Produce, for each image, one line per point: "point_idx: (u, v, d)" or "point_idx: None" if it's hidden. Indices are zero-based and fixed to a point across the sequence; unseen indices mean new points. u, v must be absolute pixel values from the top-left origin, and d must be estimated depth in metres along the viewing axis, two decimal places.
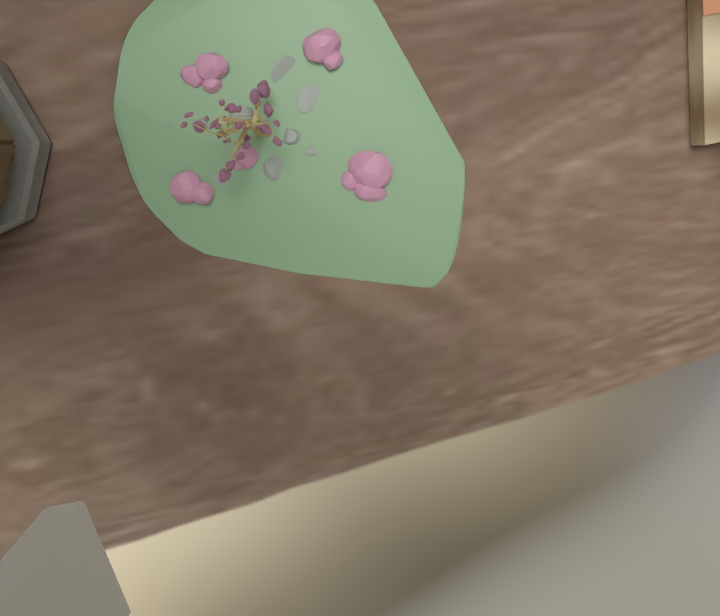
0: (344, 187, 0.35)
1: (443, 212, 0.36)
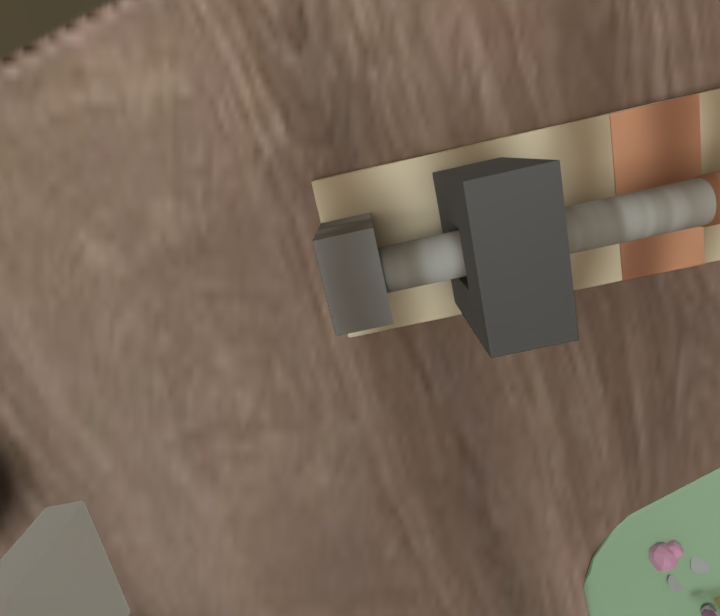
0: None
1: None
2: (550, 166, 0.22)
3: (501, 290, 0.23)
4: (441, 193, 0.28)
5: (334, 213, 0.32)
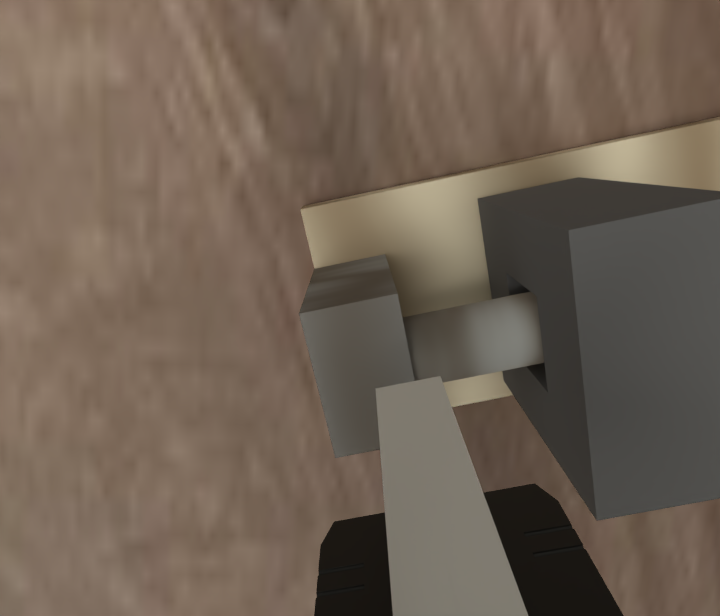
0: None
1: None
2: None
3: (622, 414, 0.13)
4: (496, 232, 0.19)
5: (333, 255, 0.22)
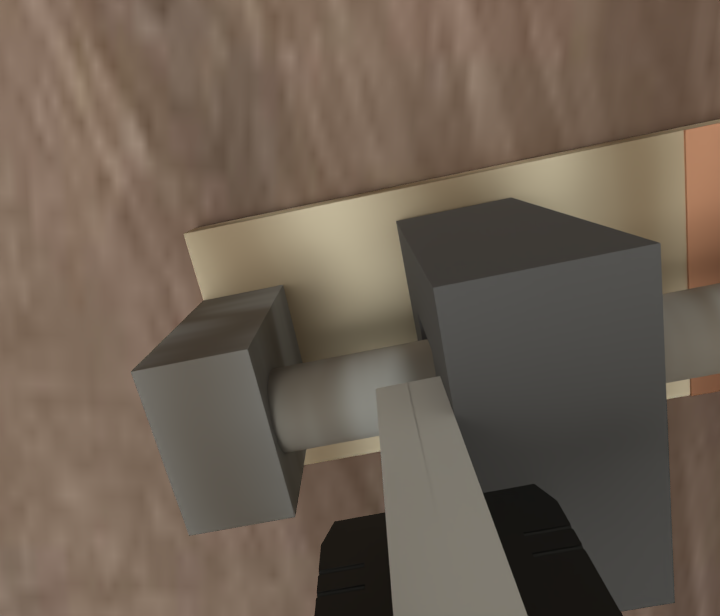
0: None
1: None
2: (637, 257, 0.09)
3: None
4: (407, 263, 0.16)
5: (224, 285, 0.19)
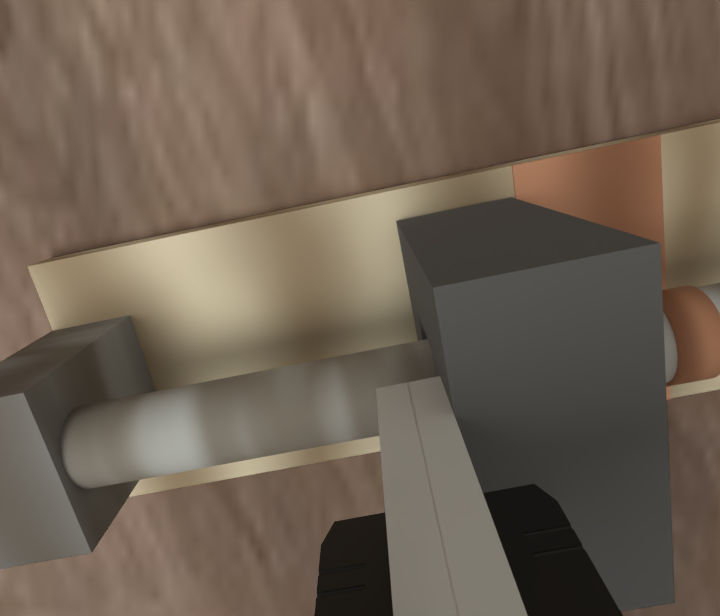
0: None
1: None
2: (637, 256, 0.09)
3: None
4: (407, 263, 0.16)
5: (72, 316, 0.19)
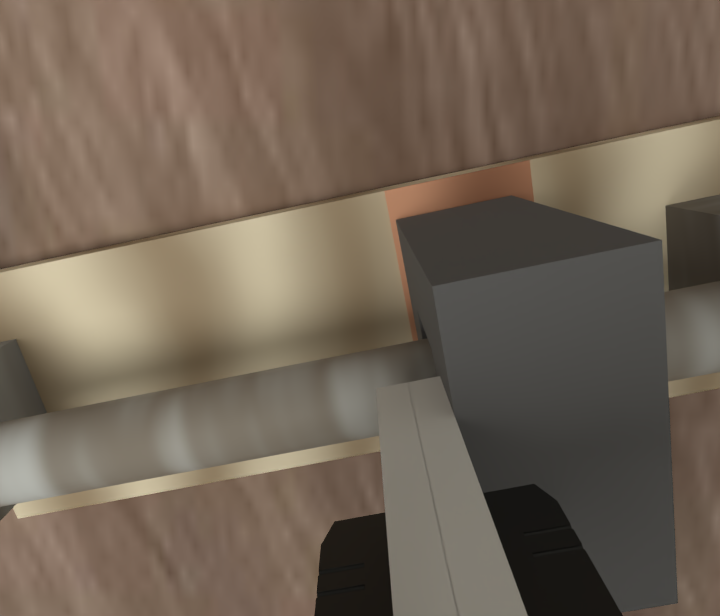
0: None
1: None
2: (639, 254, 0.09)
3: None
4: (407, 262, 0.16)
5: None
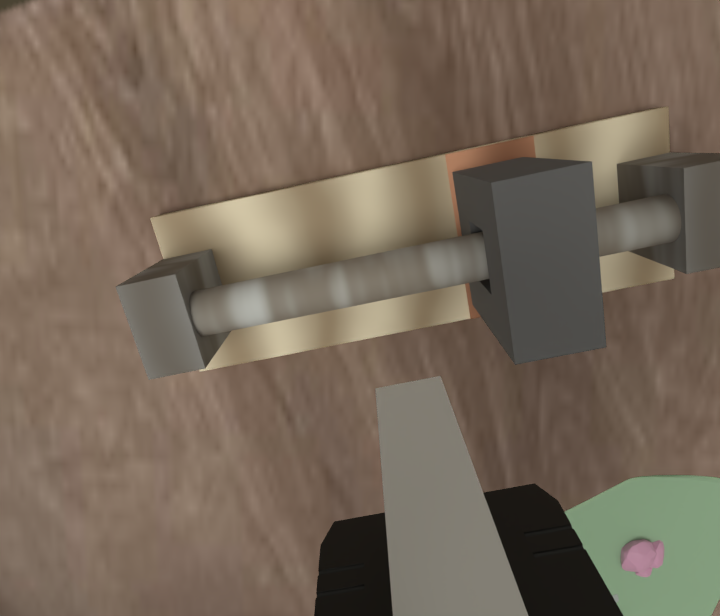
0: None
1: (682, 493, 0.38)
2: (582, 168, 0.21)
3: (527, 295, 0.22)
4: (462, 193, 0.28)
5: (176, 249, 0.31)
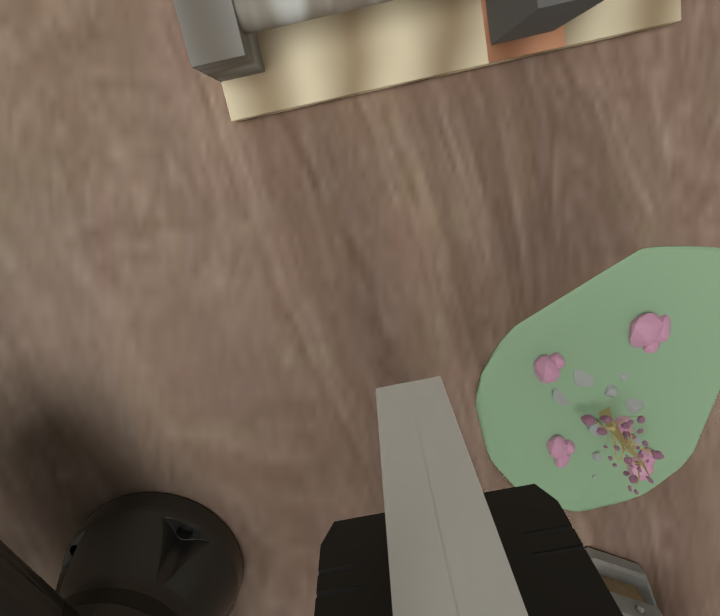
0: None
1: (687, 264, 0.40)
2: None
3: None
4: None
5: None
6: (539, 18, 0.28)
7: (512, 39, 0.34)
